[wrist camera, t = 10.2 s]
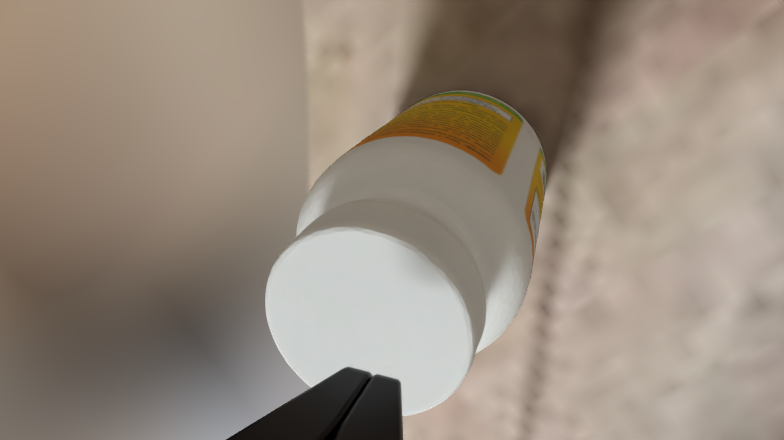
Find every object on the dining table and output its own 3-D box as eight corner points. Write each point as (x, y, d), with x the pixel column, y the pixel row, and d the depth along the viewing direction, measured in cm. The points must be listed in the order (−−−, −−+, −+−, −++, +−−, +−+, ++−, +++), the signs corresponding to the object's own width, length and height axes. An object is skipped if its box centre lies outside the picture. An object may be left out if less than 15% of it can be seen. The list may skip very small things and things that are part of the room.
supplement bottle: (355, 143, 19) (176, 268, 11) (489, 52, 17) (395, 119, 8) (440, 269, 20) (337, 479, 12) (579, 200, 18) (580, 399, 9)
